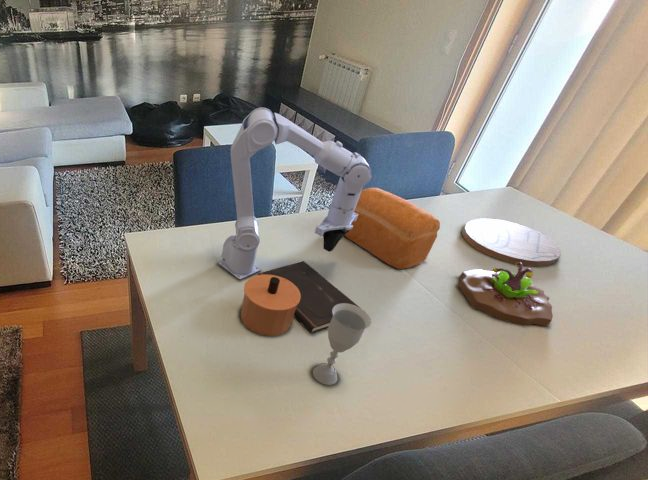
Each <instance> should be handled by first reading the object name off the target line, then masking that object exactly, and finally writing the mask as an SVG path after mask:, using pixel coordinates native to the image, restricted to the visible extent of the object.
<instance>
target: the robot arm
mask: <svg viewBox="0 0 648 480" xmlns="http://www.w3.org/2000/svg"><path fill="white" fill-rule="evenodd" d="M273 142H274V144H275V145H279V144H283V143H285V142H288V143H290V144H292V145H294V146H295V147H297V148H299V149H301V150H303V151H305V152H307V153H309V154H311V155H313V156H314V157H313V158H314V162H315V164H317V165H318V166H320V167H321V168H324V169H325V170H327V171H329V172H331V173H332V174H334V175H336V176H338V177H339V180H338V183H337V185H336V188H335V191H334V194H333V197H332V200H331V203H330V205H329V209H328V212H327V214H326V216H325V218H324V219H323V220H322V221H321V222H320V223H319V224H318V225H317V226H315V230H314V234H316V235H318V236H320V237H323V238H322V239H323V242H322V243H323V244H322V245H323V246H322V248H323V250H325V251H326V252H328V253H331V252H332V251H334V249H335V248H336V247H337V246H338V244H339V242H340V241H341V240H342V239H343V237H345V236H344V235H345V234H346V233H348V232H349V230H350V229H352V228H353V225H351V223H352V222H354V221H356V220H357V217H358V214H356V213H354V210H355V208H356V205H357V202H358V199H359V197H360V194H361V191H362V190H363V188H364V186H366V185H367V184H369V182H371V179H372V177H373V176H372V169H371V166H370V165H369V163H368V162H367V160H366V159H365V158H364V157H363V156H362V155H361V154H360V153H358V152H356V151H354V152H351V151H350V150H349V149H347V148H345V147H343V146H344V145H343V143H342V142H340V141H339V140H336V142H335V141H333V140H326V141H321V140H320V139H318V138H317V137H315V136H314V135H312V134H311V133H309V132H308V131H306V130H305V129H303V128H302V127H301V126H299V125H297V124H296V123H294V122H292V121H291V120H290V119H288V118H286V117H284V116H283V115H282V114H280V113H277V112H272V110H271V109H269V108H267V107H257V108H255V109H253V110H252V111H251V112H249V114H248V115H246V116H245V118H244V119H243V121H242V123H241V125H240V128H239V130H238V132H237V133H236V135H235V138H234V140H233V142H232V143H231V145H230V165H231V170H232V171H231V172H232V183H233V190H234V191H233V192H234V201H235V210H236V221H235V225H234V226H235V227H234V228H235V234H232V235H230V236H228V237H226V239H225V241H224V242H223V244H222V245H223V246H222V250H221V257H220V258H221V259H220V261H218V265H220V266H221V267H222V268H223V269H225V270H226V271H228V273H230V274H231V275H233V276H234V277H235V278H237V279H238V280H242V279H245V278H247V277H249V276H251V275H254V274H256V273H259V272H260V271H261V270H260V268H259V267H257V266H256V265H255V261H256V257H257V252H258V248H259V244H260V242H261V239H260V236H259V235H260V234H259V222H258V219H257V218H256V216H255V212H254V210H255V209H254V198H253V196H254V195H253V183H252V172H251V158H252V157H253V156H254V155H255V154H256V153H257V152H260V151H261V150H262V149H265V148H266V147H268V146H270V145H271V144H272V143H273Z"/></svg>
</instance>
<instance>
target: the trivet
mask: <svg viewBox="0 0 648 480" xmlns="http://www.w3.org/2000/svg"><path fill="white" fill-rule="evenodd" d="M461 234H462V237H463V239H464V240H465V241H466V242H467V243H468V244H469V245H471V246H472V247H473V248H474V249H475V250H478V251H480V252H481V253H483V254H485V255H487V256H490V257H492V258H494V259H497V260H499V261H504V262H507V263H509V264H515V265H516V264H517V263H518V262H521V263H522V265H523V266H524V267H525V266H526V267H545V266H546V267H547V266H550V265H553V264H554V263H555V262H556V261H557V260H558V259H559V258H560V256H561V255H562V249H561V247H560V246H559V245H558V244H557V242H555V241H554V240H553V239H552V238H550V237H549V236H547V235H546V234H544V233H542V232H540V231H538V230H535V229H533V228H532V227H528V226H526V225H523V224H519V223H516V222H512V221H509V220H504V219H496V218H476V219H471V220H470V221H467V222H466V224H465V225H464V227H463V229H462V230H461Z"/></svg>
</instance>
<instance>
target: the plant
mask: <svg viewBox="0 0 648 480" xmlns="http://www.w3.org/2000/svg"><path fill="white" fill-rule="evenodd" d="M515 267H516V268H518V269H517V273H514V272H512V271H510V270H509V269H507V268H503V267H494V268H492V270H483V269H469V270H467V271H462V272H461V273H460V275H459V277H458V279H459V280H460V282H459V284H458V288H459V290H460V291H461V293H462V294H463V295H464V296H465V298H466V299H467V300H468V302H469V305H471V307H472V308H474V309H475V310H478V311H480V312H483V313H486V314H488V315H489V316H491V317H493V318H495V319H499V320H502V321H504V322H505V321H506V322H509V323H513V324H518V325H523V326H524V325H529V324H531V325H538V326H542V327H548V325H550V323H551V322H552V321H553V310H552V309H553V306H552V304H551V303H550V302H549V300H550V297H549V296H547V295H546V294H545V291H544V290H543V289H542V288H540V287H538V286H536V285H534V284H533V282H532V279H531V278H533V277H534V271H533V270H532V268H528V267H527V268H525V269H524V270H523V267H524V265H522V263H521V262H518V263H517V264H515ZM524 276H525V277H524Z"/></svg>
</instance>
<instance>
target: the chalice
mask: <svg viewBox="0 0 648 480" xmlns="http://www.w3.org/2000/svg"><path fill="white" fill-rule="evenodd" d="M359 307H360V306H359ZM359 307H357V306H355V305H352V304H347V303H341V304H337V305H336V306H334V308H333V309H332V313H333V317H332V319H331V322H330V324H329V327H328V328H327V337H328V341H329V345H330V348H331V349H332V351H331V352H330V353H329V355H330V357H329V356H328V357H327V359H326V361H327V363H325V362H323V363H320V364H319V365H317V366H316V367H314V369H313V371H312V374H313V377H314V378H315V379H316V381H318V382H319V383H321V384H323V385H326V386H328V385H330V386H331V385H334V384H336V383H337V381H338V373H337V370H336V368H335V367H334V365H335V364H336V363H337V361H336V359H337V358H338V357H339V353H344V352H346V351H348V350H350V349H352V348H353V347H354V346H356V345H357V344H359V342H360V341H361V340H360V339H361V338H362V335H363V333H364V332H365V330H366V329H368V328H369V327H370V326H371V324H372V320H371V317H370V315H369V314H368V313H367V311H365V310H364V309H363V308H362V307H360V308H359Z"/></svg>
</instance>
